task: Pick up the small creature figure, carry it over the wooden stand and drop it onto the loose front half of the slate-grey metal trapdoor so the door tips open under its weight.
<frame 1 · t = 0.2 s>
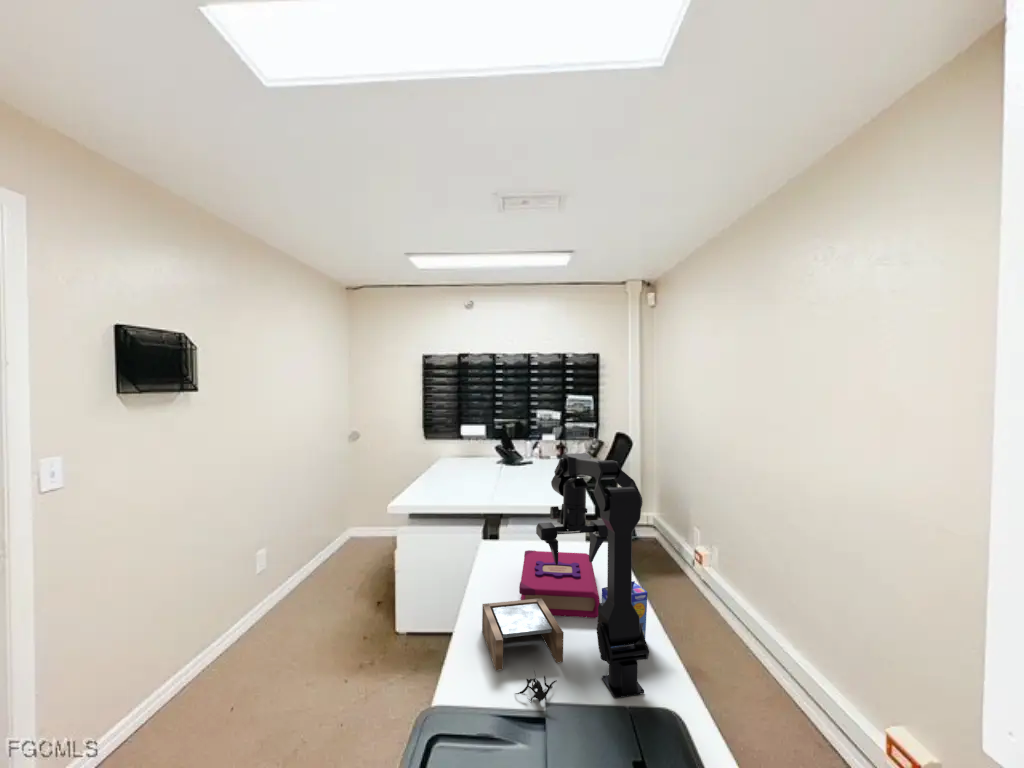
hand: (573, 563, 126), 14 cm above the table, tool pointing down, fingers open, 9 cm apart
trapdoor: (521, 619, 113), point 6 cm above the table, hinge at 0.0°
wooden stand: (520, 645, 113), on the table
book: (558, 594, 141), on the table
ink cartridge box: (623, 640, 117), on the table
creature: (535, 697, 96), on the table
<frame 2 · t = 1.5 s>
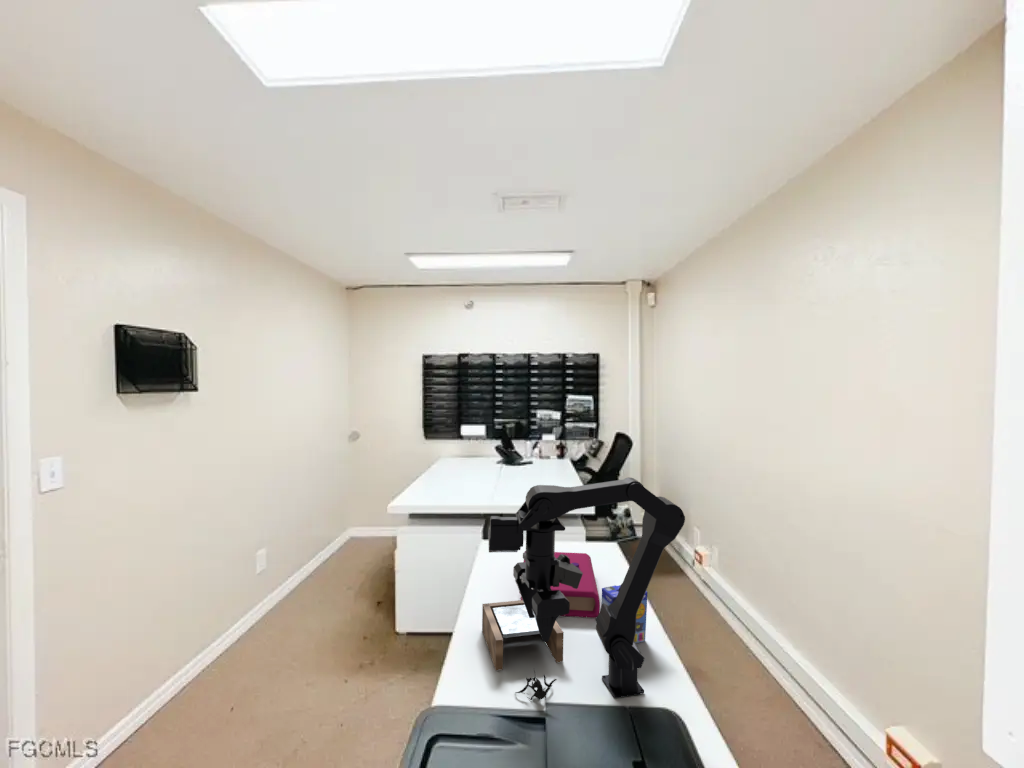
hand: (538, 628, 98), 12 cm above the table, tool pointing down, fingers open, 9 cm apart
nothing on the table moved.
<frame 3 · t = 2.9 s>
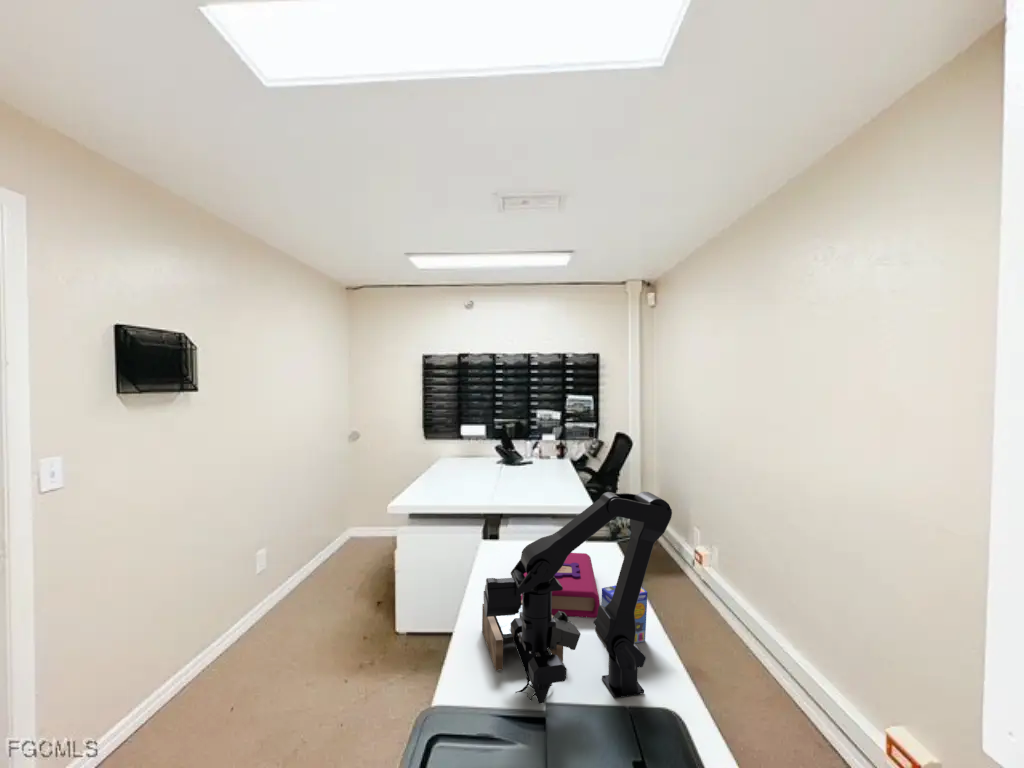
hand: (535, 690, 96), 1 cm above the table, tool pointing down, fingers open, 7 cm apart
creature: (535, 695, 97), on the table, touching gripper
everything else where it was.
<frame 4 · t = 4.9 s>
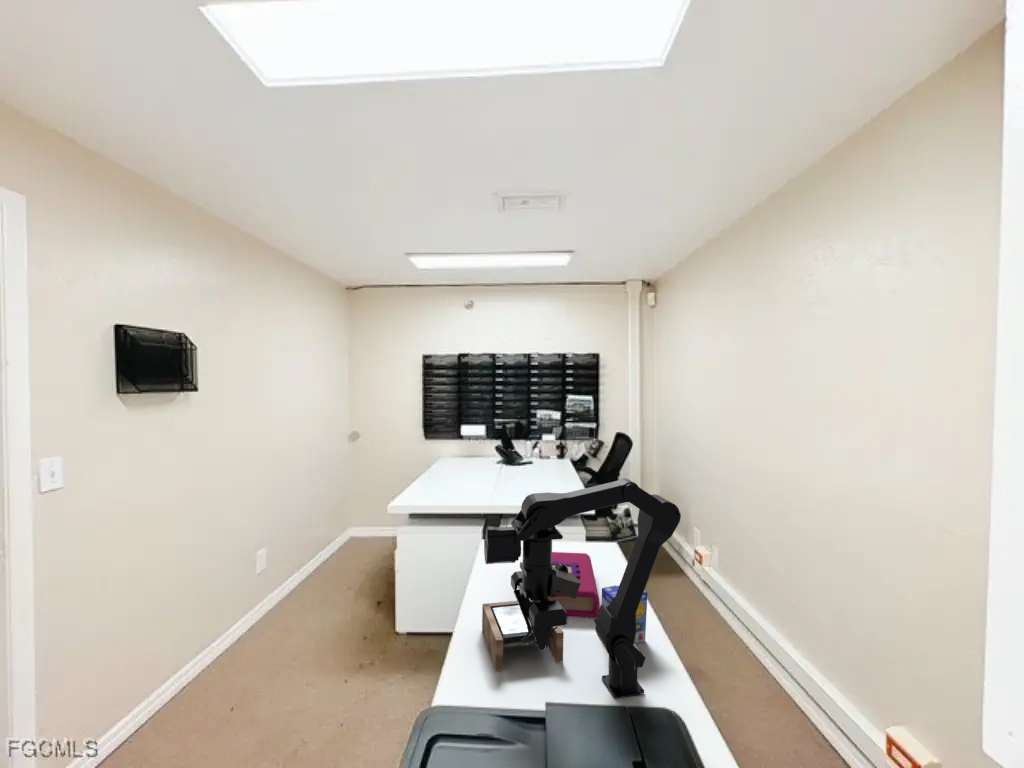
hand: (536, 639, 96), 11 cm above the table, tool pointing down, fingers closed on creature, 7 cm apart
creature: (536, 645, 97), point 10 cm above the table, touching gripper
everything else where it was.
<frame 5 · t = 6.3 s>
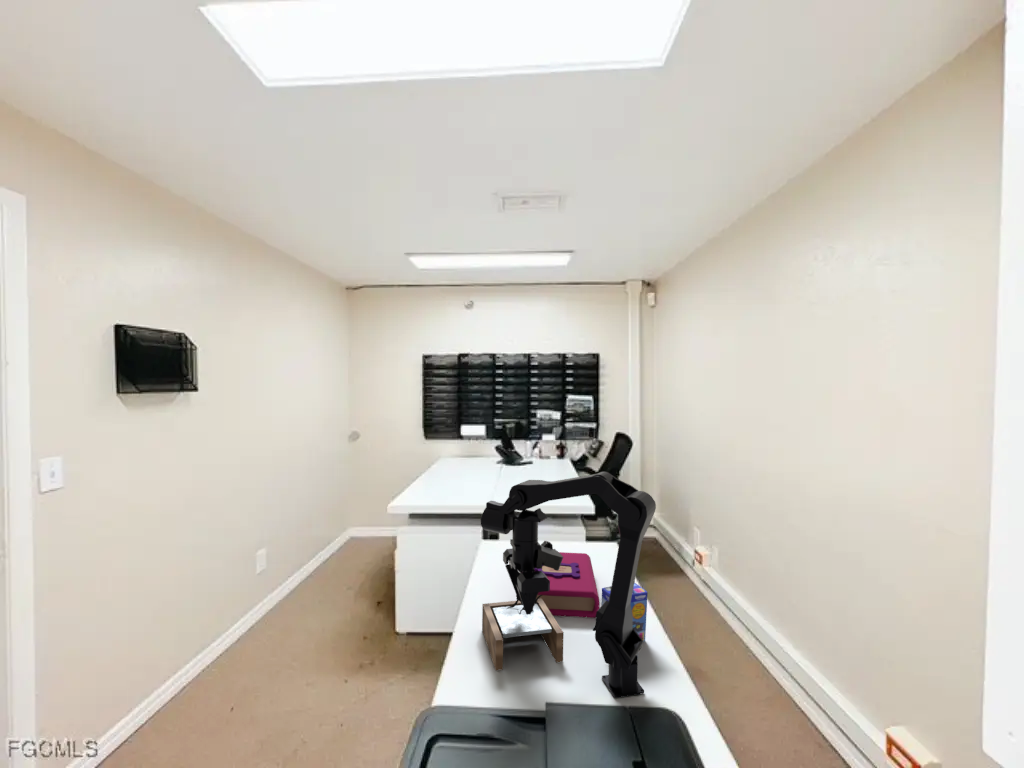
hand: (524, 606, 111), 10 cm above the table, tool pointing down, fingers closed on creature, 7 cm apart
creature: (524, 611, 111), point 9 cm above the table, touching gripper
everything else where it was.
when the fingers open (10 cm above the table, at t = 6.6 s): creature drops 7 cm, resting on trapdoor.
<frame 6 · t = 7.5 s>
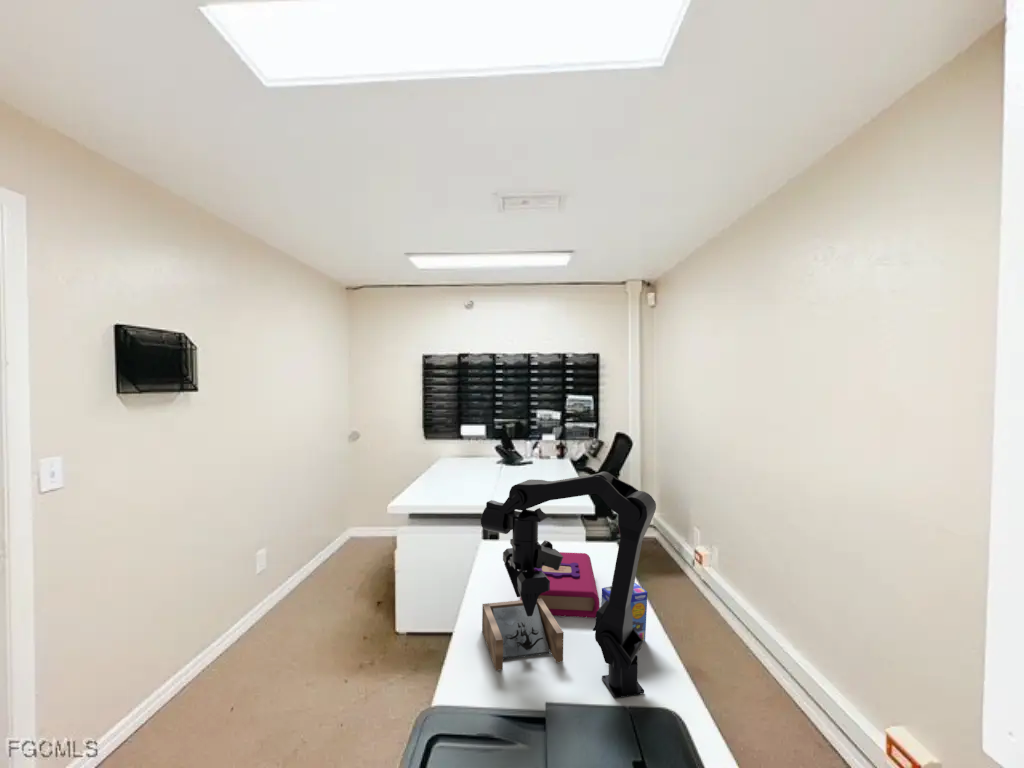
hand: (524, 606, 111), 10 cm above the table, tool pointing down, fingers open, 9 cm apart
trapdoor: (520, 630, 114), point 3 cm above the table, hinge at -28.7°, touching creature
creature: (522, 639, 112), point 2 cm above the table, touching trapdoor
everything else where it was.
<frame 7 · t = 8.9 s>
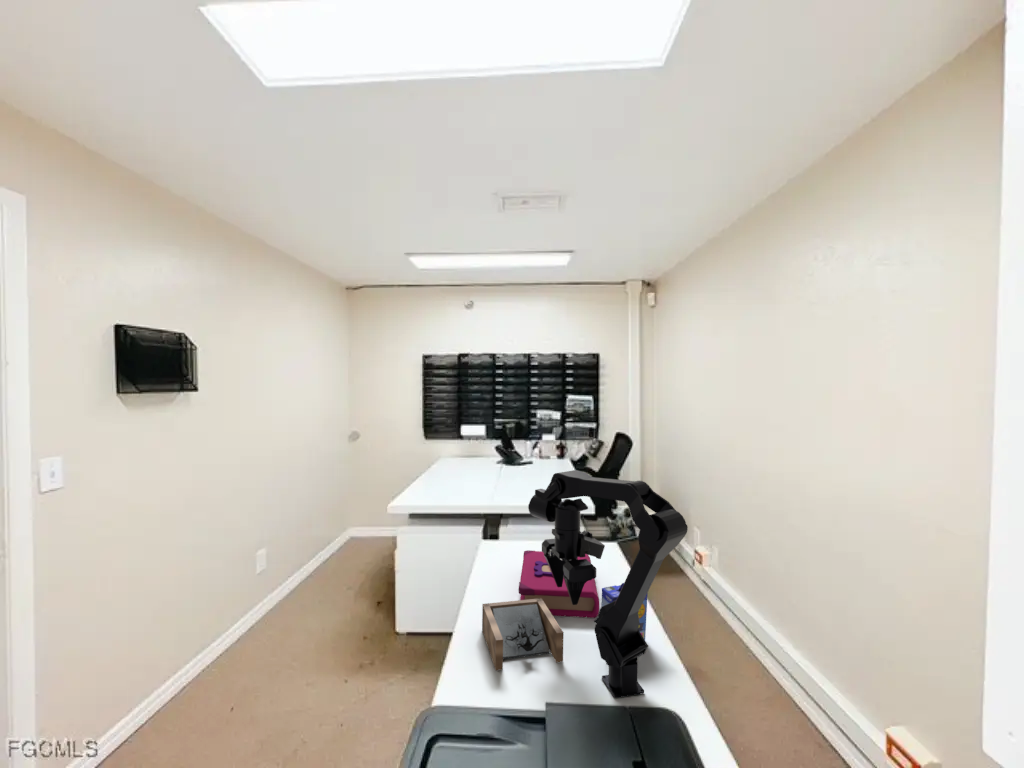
hand: (566, 595, 111), 13 cm above the table, tool pointing down, fingers open, 9 cm apart
nothing on the table moved.
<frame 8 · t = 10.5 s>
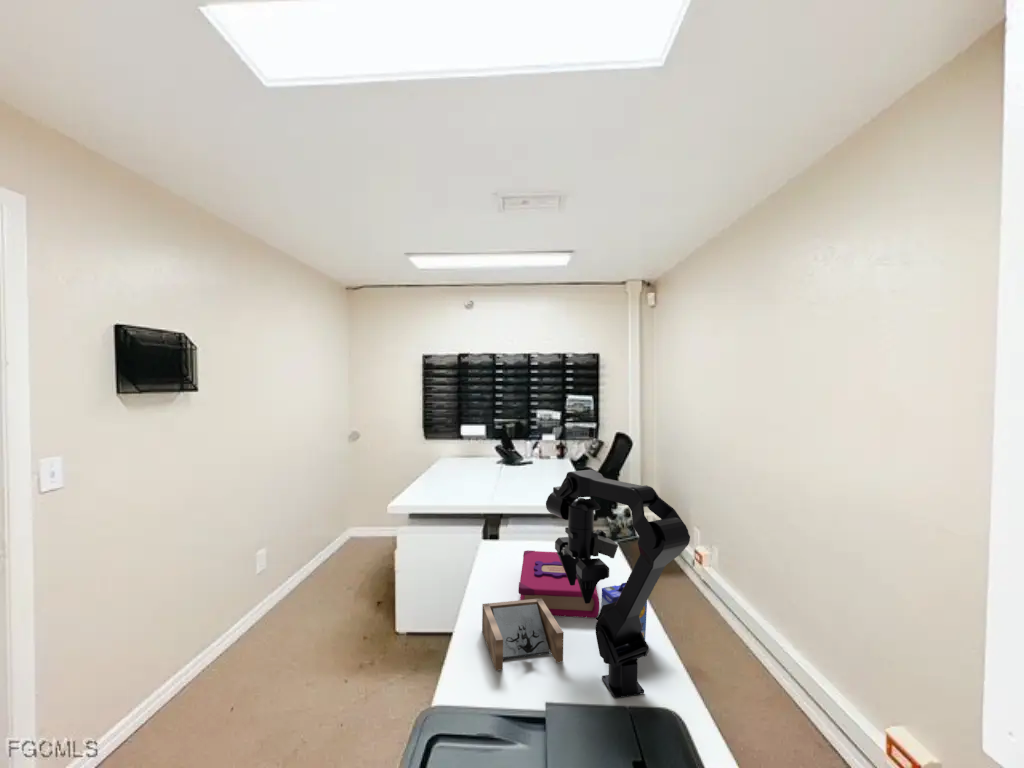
hand: (579, 593, 112), 13 cm above the table, tool pointing down, fingers open, 9 cm apart
nothing on the table moved.
at the end: trapdoor at -29° (first picture: +0°); creature inside the target area (0.6 cm from its centre), point 1.9 cm above the table; the gripper is holding nothing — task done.
